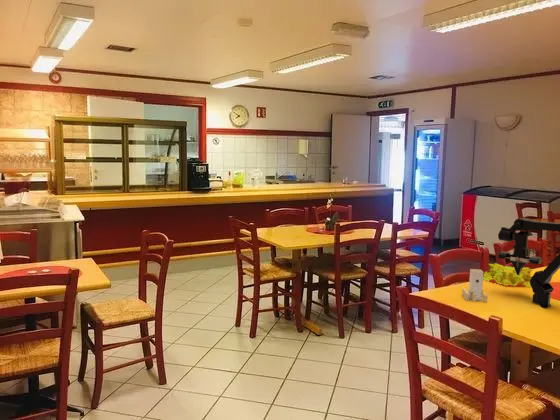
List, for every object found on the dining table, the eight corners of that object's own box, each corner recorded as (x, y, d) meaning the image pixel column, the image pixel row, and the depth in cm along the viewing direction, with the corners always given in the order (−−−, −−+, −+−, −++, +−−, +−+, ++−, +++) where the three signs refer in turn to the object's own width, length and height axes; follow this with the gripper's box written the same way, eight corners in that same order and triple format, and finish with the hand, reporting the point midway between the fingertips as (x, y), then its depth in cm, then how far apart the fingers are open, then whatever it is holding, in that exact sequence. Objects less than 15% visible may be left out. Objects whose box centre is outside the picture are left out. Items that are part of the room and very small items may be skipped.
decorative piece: (538, 265, 268) (534, 277, 242) (536, 279, 269) (532, 291, 243) (489, 259, 281) (480, 269, 256) (488, 272, 282) (479, 283, 257)
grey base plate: (498, 298, 229) (499, 289, 229) (505, 306, 218) (506, 297, 217) (461, 296, 233) (462, 287, 232) (466, 303, 221) (467, 294, 220)
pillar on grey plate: (479, 297, 228) (481, 269, 226) (481, 300, 223) (483, 272, 221) (468, 296, 229) (470, 268, 227) (470, 299, 224) (472, 271, 222)
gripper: (547, 244, 226) (544, 275, 227) (507, 238, 239) (504, 268, 241) (539, 247, 218) (536, 279, 220) (498, 241, 231) (496, 272, 233)
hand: (518, 274), depth 229 cm, fingers closed
